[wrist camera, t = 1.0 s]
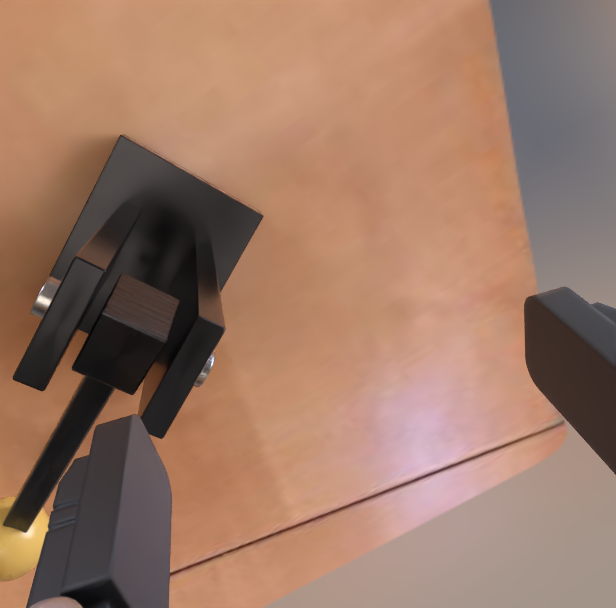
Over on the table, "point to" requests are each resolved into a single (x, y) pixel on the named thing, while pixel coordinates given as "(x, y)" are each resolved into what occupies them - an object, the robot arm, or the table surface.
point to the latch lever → (87, 408)
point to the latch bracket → (145, 271)
